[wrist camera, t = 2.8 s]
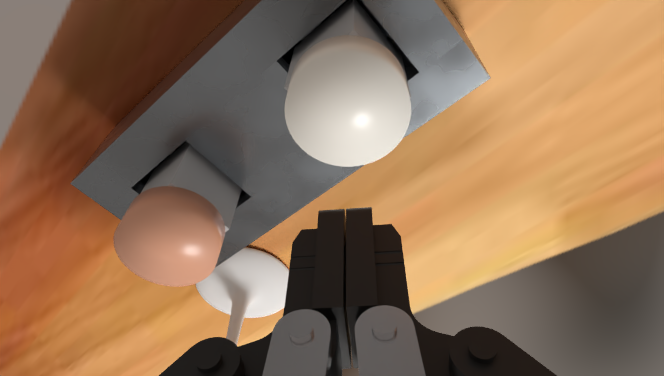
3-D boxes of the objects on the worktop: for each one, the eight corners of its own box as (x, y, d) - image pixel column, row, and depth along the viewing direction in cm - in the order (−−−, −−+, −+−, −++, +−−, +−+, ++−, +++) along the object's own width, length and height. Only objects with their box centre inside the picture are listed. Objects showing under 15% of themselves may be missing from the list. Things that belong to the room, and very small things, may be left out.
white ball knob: (417, 57, 26) (436, 120, 21) (342, 114, 29) (340, 186, 23) (355, -22, 24) (356, 24, 19) (278, 46, 26) (258, 106, 21)
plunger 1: (258, 177, 31) (238, 255, 26) (204, 219, 33) (174, 299, 28) (194, 120, 29) (156, 192, 23) (140, 168, 31) (92, 245, 25)
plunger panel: (464, 31, 31) (490, 77, 25) (222, 212, 39) (201, 277, 34) (360, -114, 26) (363, -98, 21) (115, 125, 35) (70, 183, 29)
